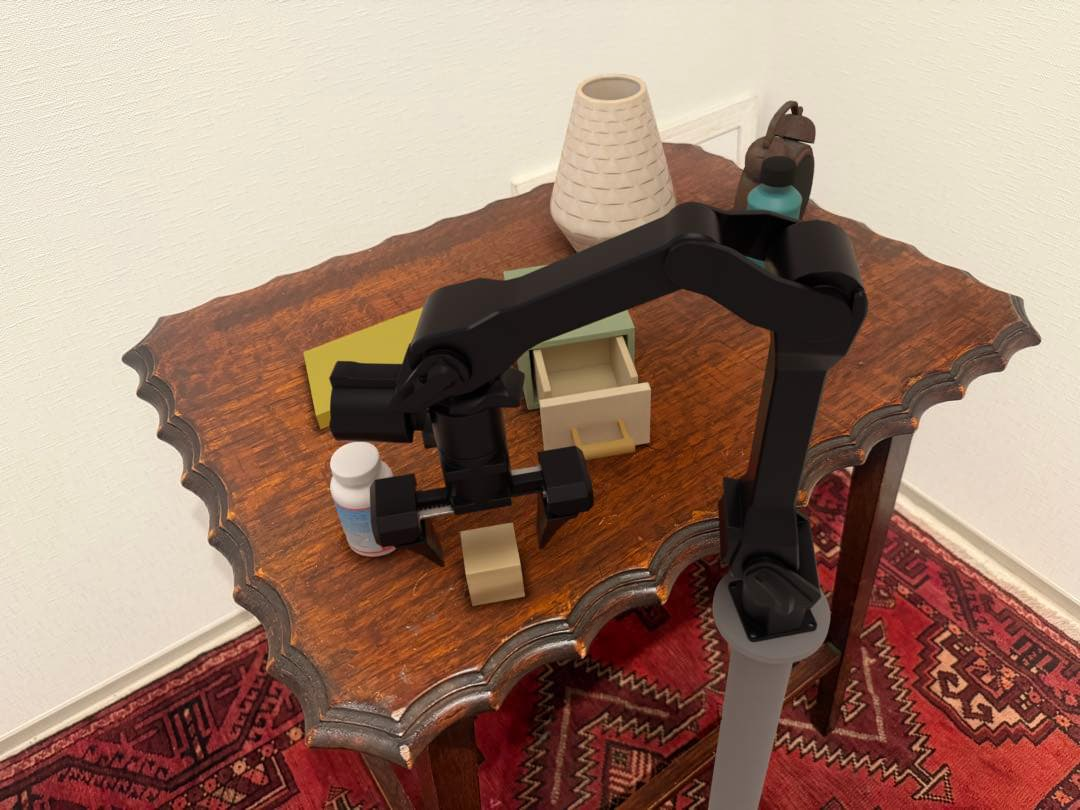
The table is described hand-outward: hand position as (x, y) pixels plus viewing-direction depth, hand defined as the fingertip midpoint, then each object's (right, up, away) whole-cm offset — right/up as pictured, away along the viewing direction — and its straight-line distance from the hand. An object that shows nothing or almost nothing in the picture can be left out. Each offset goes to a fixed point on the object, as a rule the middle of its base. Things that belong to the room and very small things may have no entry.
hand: (491, 554), depth 80 cm
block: (0, -3, +3) cm, 4 cm away
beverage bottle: (+33, +26, +31) cm, 53 cm away
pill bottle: (-12, 0, +8) cm, 14 cm away
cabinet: (+8, +19, +26) cm, 33 cm away
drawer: (+10, +12, +16) cm, 22 cm away
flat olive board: (-13, +19, +28) cm, 36 cm away
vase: (+15, +37, +44) cm, 59 cm away
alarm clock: (+37, +36, +41) cm, 66 cm away
